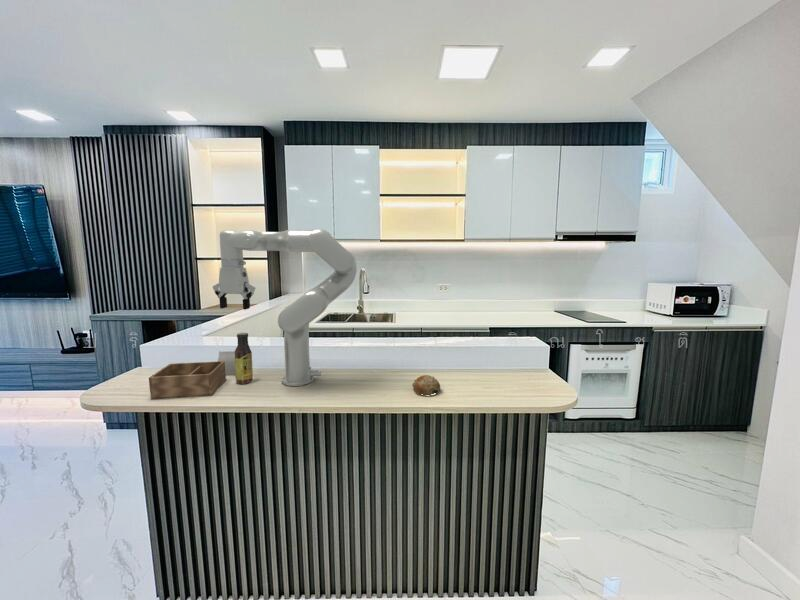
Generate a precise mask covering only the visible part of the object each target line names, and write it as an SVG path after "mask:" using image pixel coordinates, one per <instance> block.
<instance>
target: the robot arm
mask: <svg viewBox="0 0 800 600" xmlns="http://www.w3.org/2000/svg"><path fill="white" fill-rule="evenodd" d="M219 248H220V249H219V250H220V265H221V267H220V268H219V276H218V283H215V285H213V286H212V289H213V291H214V294H215V295H216V296H217V298H218V300H219V309H225V308H228V300H227V299H228V298H227V295H241V297H242V298H243V299H242V310H248V309H250V308H251V307H250V306H251V298H252V297H253V295H254V293H255V291H256V286H253V285H251V284H250V281H249V275H248V271H247V268H246V267H245V266H246V263H247V262H246V260H244V251H249V252H258V251H259V252H262V251H263V252H287V253H315V254H316V255H317V256H318V257H319V258H321V259H322V261H324V262H325V263H326V264H328V266H330V267H331V268H332V269H333V270H334V272H332V274H330V275H329V276H328V277H327V278H326V279H324V280H323V281H321V282H320V283H319V284H317V285H316V286H314V287H313V288H310V289H309V290H307V291H306V292H305V293H304V294H302V295H300V296H299V298H297V299H296V300H295V301H293V302H292V303H291V304H289V305H288V306H286V307H284V309H282V310H281V311H280V313H279V314H278V317H277V324H278V327H279V328H280V330H281V331H283V341H284V342H283V344H284V345H283V346H284V368H285V375H284V376H283V377H282V379H281V383H282V384H283V385H284V386H288V387H299V386H305V384H306V385H308V384H311V383H312V382H313V381H314V380H315V377H321V376H322V371H320V370H319V369H314V370H313V369H312V366H311V365H310V364H311V363H310V323H312V321H314V320H315V319H317V318H318V317H319V316H320V315H322V314H323V313H324V312H325V310H326V309H327V308H328V306H329V305H331V303H333V302H334V301H335V300H336V299H337V298H339V297H340V296H341V295H343V293H345V292H346V290H348V289H349V288H350V287H351V286H352V284H353V282H354V281H355V278H356V275H357V261H356V257H355V255H354V254H353V253H352V252H351V251H349V250H348V249H346V248H345V247H344V246H343V245H342V244H341V243H340V242H338V241H337V240H336V239H335V238H334V237H333V236H332V234H331V233H330V232H329V231H327V230H325V229H323V228H322V229H321V228H317V229H286V230H284V231H257V230H250V229H249V230H241V231H240V230H239V231H238V230H221V231H220V233H219ZM244 265H245V266H244Z"/></svg>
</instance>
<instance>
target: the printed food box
mask: <svg viewBox="0 0 800 600" xmlns="http://www.w3.org/2000/svg"><path fill="white" fill-rule="evenodd" d="M217 361H225V373H226V375H234V376H236V375H235V350H233V351H232V350H230V351H229V350H227V351H222V350H221V351H219V352H218V358H217Z"/></svg>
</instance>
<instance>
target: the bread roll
mask: <svg viewBox="0 0 800 600" xmlns="http://www.w3.org/2000/svg"><path fill="white" fill-rule="evenodd" d="M411 386H412V387H413V389H414V390H413V389H412V390H413V391H414V393H415V392H416V393H415V394H417V393H418V394H423V395H431V394H434V393H437V392H438V393H440V391H441V384H440V382H439V381H438V380H437V379H436V378H435V377H434V376H432V375H427V374H423V375H420V376H419V377H417V378H416V379H415V380H414V382H412V383H411ZM438 393H437V394H438ZM418 394H417V395H418Z"/></svg>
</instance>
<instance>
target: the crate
mask: <svg viewBox="0 0 800 600" xmlns="http://www.w3.org/2000/svg"><path fill="white" fill-rule="evenodd" d="M226 377H227V376H226V373H225V361H218V360H217V361H200V362H175V363H174V362H173V363H169V364H167V365H165V366H164V367H162V368H161V369H160V370H158V371H156V373H154V374H152V375H151V376H149V377H148V384H149V393H150V394H149V395H150V400H161V399H163V400H165V399H178V398H180V399H181V398H193V397H194V398H199V397H209V396H210V397H212V396H213V395H215V393H216V392H217V391H218V390H219V389H220V387H221V386H222V385H223V384H224V383H225V382H226V381H225V380H227V378H226ZM224 381H225V382H224ZM217 389H218V390H217Z"/></svg>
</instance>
